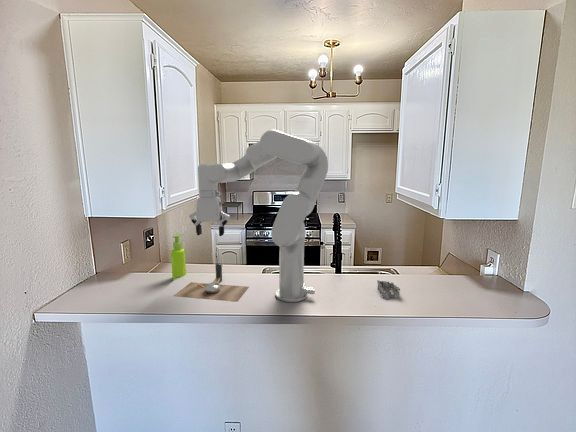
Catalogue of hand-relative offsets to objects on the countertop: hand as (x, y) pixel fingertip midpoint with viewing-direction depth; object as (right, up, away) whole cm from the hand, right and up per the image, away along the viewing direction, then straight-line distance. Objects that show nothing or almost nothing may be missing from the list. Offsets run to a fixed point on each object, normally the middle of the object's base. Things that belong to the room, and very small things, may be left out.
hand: (210, 235), depth 127 cm
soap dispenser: (-17, -20, +12) cm, 29 cm away
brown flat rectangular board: (+3, -23, -7) cm, 24 cm away
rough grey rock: (+73, -24, -5) cm, 77 cm away
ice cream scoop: (+3, -21, -2) cm, 21 cm away
